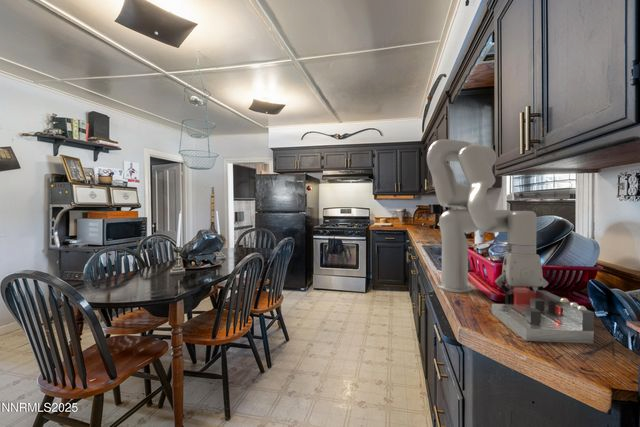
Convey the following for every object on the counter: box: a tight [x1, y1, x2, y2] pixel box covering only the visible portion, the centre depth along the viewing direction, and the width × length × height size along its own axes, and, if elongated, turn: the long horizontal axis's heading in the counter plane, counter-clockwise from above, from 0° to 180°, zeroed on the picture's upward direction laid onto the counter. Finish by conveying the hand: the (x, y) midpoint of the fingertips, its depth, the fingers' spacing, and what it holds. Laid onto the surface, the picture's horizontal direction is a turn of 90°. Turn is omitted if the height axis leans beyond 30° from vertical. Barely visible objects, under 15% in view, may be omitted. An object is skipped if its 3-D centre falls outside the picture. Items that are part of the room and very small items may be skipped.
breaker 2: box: [525, 308, 541, 323], centre depth 75 cm, size 2×2×3 cm
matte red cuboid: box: [512, 287, 536, 305], centre depth 93 cm, size 6×6×6 cm
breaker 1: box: [530, 298, 545, 312], centre depth 83 cm, size 2×2×3 cm
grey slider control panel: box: [491, 289, 595, 344], centre depth 79 cm, size 18×15×8 cm
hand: (520, 305), depth 93 cm, fingers closed on matte red cuboid, 6 cm apart
